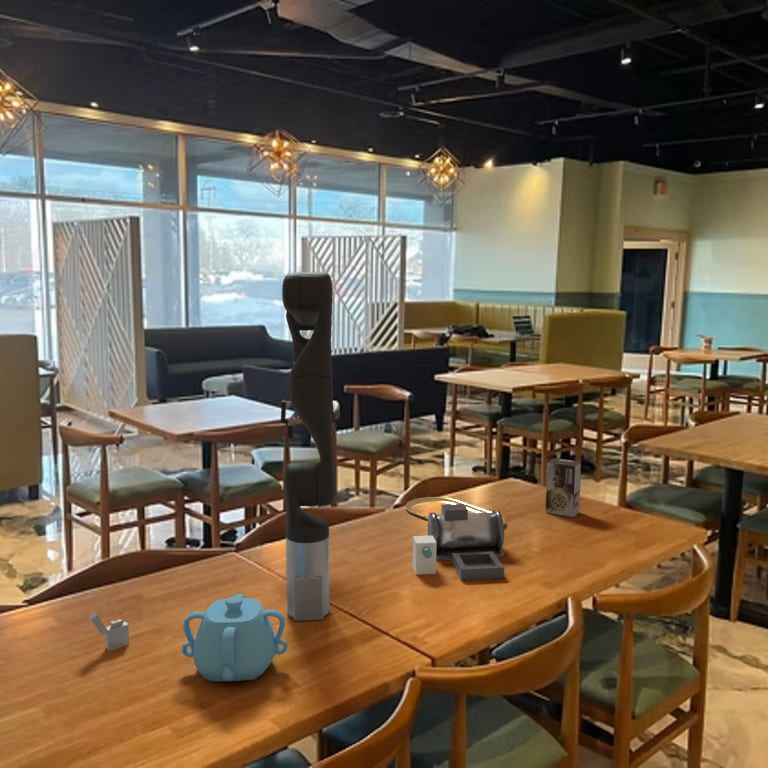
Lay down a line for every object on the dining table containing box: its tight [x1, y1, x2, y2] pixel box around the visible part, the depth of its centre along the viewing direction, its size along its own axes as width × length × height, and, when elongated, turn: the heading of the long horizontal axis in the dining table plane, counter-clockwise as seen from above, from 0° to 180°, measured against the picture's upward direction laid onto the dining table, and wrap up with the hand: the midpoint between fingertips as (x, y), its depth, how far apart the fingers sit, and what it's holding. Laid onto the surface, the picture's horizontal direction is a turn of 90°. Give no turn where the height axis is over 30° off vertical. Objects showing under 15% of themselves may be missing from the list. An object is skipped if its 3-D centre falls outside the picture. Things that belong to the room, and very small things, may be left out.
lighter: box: [88, 612, 130, 652], centre depth 147 cm, size 7×2×8 cm, turn 130°
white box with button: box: [412, 535, 437, 576], centre depth 186 cm, size 7×5×8 cm
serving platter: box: [405, 496, 506, 526], centre depth 228 cm, size 19×35×2 cm, turn 39°
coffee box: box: [545, 457, 582, 518], centre depth 231 cm, size 9×6×16 cm
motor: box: [427, 503, 505, 561], centre depth 200 cm, size 12×18×12 cm, turn 97°
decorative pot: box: [181, 593, 289, 682], centre depth 140 cm, size 16×16×14 cm
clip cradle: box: [451, 551, 505, 582], centre depth 188 cm, size 13×11×3 cm
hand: (307, 438), depth 203 cm, fingers open, 8 cm apart
